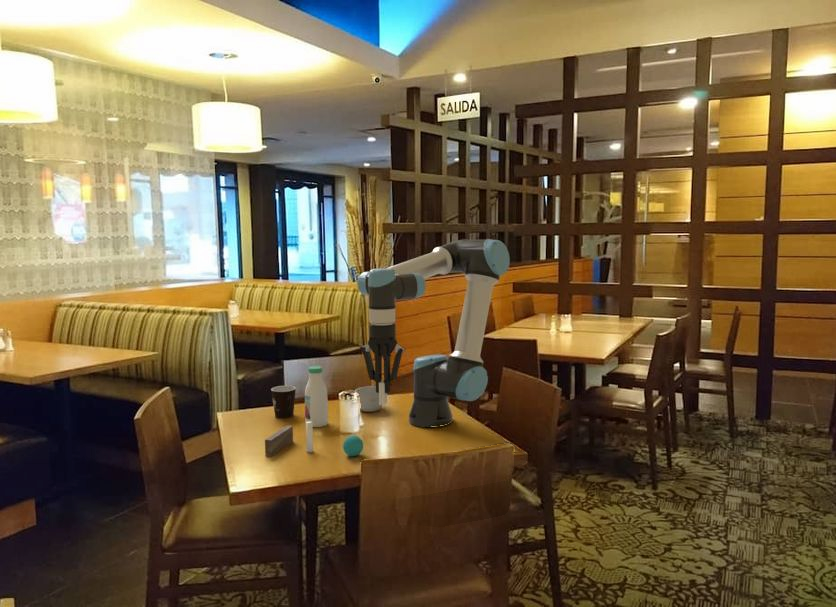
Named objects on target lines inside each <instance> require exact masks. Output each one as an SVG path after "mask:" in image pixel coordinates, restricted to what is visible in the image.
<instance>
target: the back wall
mask: <svg viewBox="0 0 836 607" xmlns="http://www.w3.org/2000/svg"><path fill="white" fill-rule="evenodd" d="M293 442H294V429H293V425H286V426H284V427H282V428H281V429H279V430H278V431H276V432H275V433H273V434H272V435H270V436H267V438H266V439H264V449H265V452H264V453H265V455H264V456H265V457H268V458H269V457H271V458H272V457H273V456H275V455H276V454H277V453H279V452H280V451H282V450H283V449H284V448H286V447H287V446H288V445H290V444H291V443H293Z"/></svg>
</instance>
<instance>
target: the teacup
mask: <svg viewBox="0 0 836 607" xmlns="http://www.w3.org/2000/svg"><path fill="white" fill-rule="evenodd" d="M355 392H357V393H358V394H359V397H360V403H361V409H360V410H361V411H362V412H366V413H370V412H373V413H374V412H377V411H379V410H380V409H381V408H382V407H383V406H384V405H379V393H376V385H368V386H361V387H358V388H356V389H355V390H354V393H355Z"/></svg>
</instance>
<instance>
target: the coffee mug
mask: <svg viewBox="0 0 836 607" xmlns="http://www.w3.org/2000/svg"><path fill="white" fill-rule="evenodd" d="M296 389H297V388H296V386H293V385H278V386H274V387H272V388H271V389H270V390H271V391H270V392H271V397H272V404H273V410H274V416H275V418H276V419H283V420H284V419H289V418H292V417H294V413H295V400H296Z"/></svg>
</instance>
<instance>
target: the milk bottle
mask: <svg viewBox="0 0 836 607" xmlns="http://www.w3.org/2000/svg"><path fill="white" fill-rule="evenodd" d="M322 374H323V367H322V366H319V365H317V366H316V365H315V366H309V367H308V375H309V377H308V381H307V383H306V386H305V388H304V389H305V390H304V418H305V419H304V422H305V425H306V422H309V421H311V422H312V424H313V428H323V427H325V426H327V425H328V423H329V411H328V410H329V407H328V405H329V404H328V403H329V402H328V388H327V386H326V383H325V382H324V378H323V375H322Z"/></svg>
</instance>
